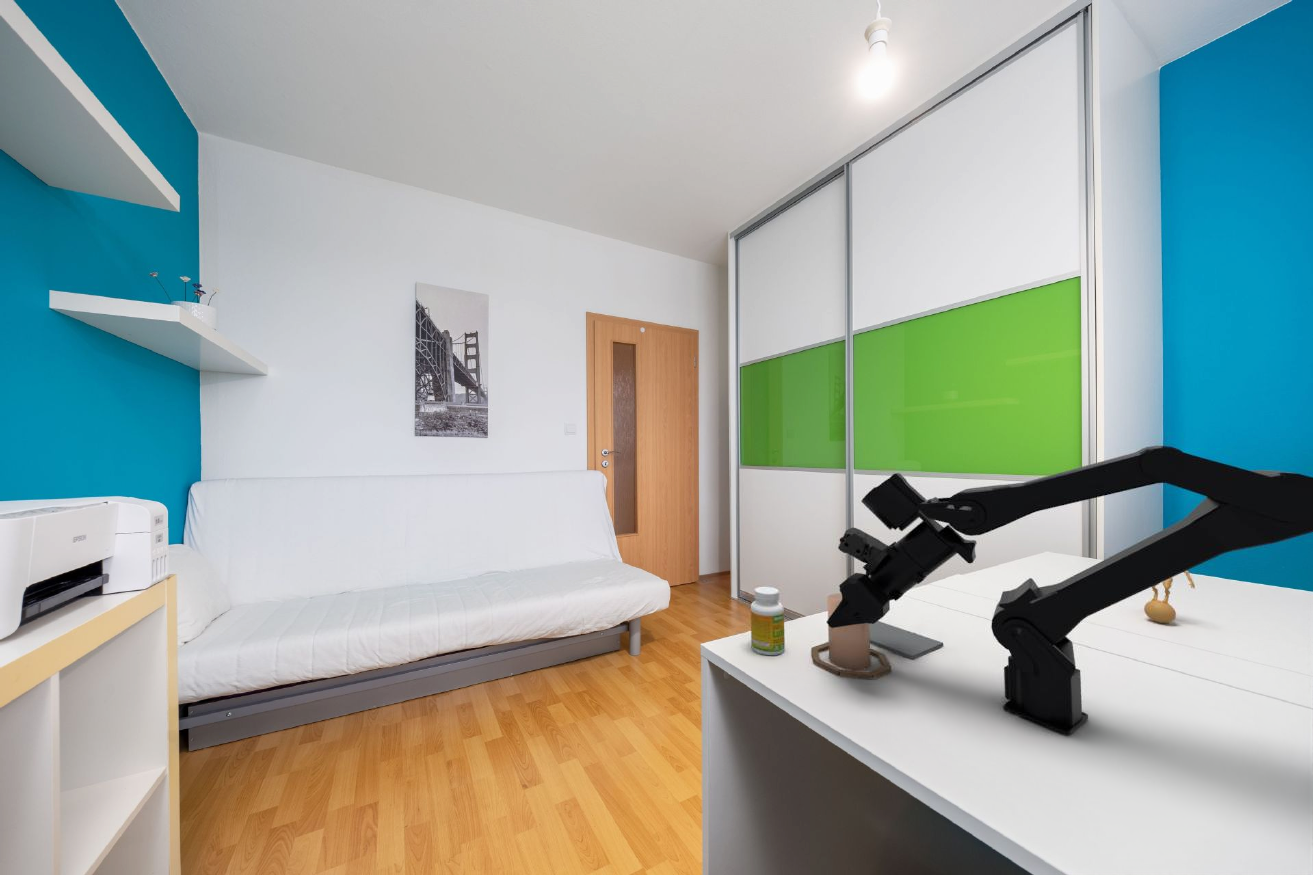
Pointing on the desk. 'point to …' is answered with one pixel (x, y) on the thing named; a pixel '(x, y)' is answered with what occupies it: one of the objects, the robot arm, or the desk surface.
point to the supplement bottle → (767, 622)
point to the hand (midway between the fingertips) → (839, 616)
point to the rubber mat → (901, 640)
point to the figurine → (1163, 603)
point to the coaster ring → (850, 673)
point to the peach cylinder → (848, 642)
